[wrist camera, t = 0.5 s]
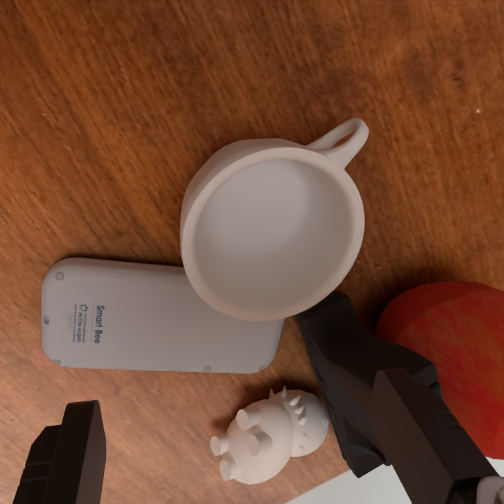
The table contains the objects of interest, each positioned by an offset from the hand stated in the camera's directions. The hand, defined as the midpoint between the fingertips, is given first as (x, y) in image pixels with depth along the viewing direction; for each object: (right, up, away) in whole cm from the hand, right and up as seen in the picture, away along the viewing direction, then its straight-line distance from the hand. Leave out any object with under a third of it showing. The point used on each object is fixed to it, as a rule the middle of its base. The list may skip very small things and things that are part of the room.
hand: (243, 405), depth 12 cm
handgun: (+9, -7, +7) cm, 13 cm away
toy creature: (-1, -7, +13) cm, 15 cm away
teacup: (+1, +8, +10) cm, 13 cm away
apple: (+11, +1, +15) cm, 19 cm away
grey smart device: (-4, 0, +10) cm, 11 cm away
